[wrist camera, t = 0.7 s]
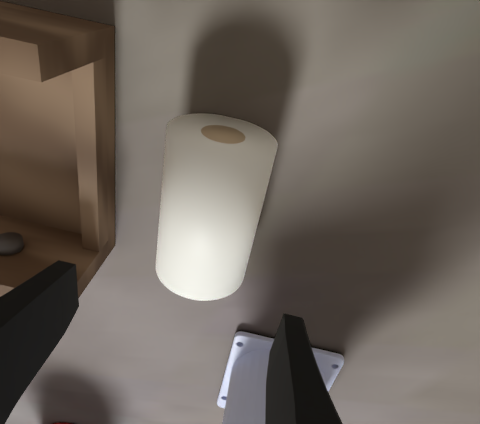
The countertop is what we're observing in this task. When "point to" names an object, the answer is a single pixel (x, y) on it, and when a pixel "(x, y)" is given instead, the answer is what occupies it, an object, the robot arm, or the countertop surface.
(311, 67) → the countertop surface
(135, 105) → the countertop surface
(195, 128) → the roll
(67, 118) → the holder
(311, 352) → the robot arm
